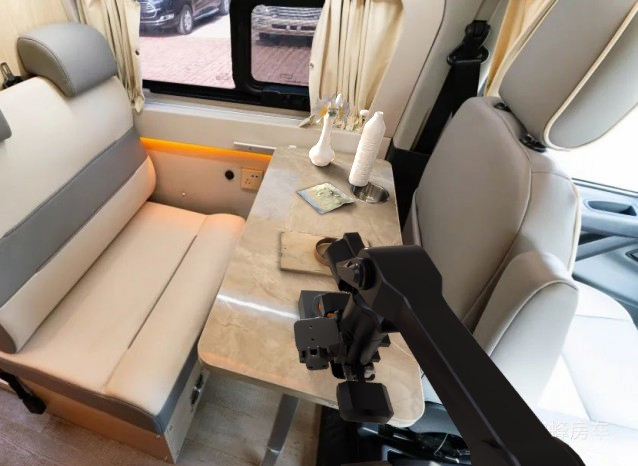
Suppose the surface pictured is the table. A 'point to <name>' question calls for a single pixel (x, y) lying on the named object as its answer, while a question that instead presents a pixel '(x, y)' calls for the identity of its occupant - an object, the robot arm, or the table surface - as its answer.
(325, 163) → the flower vase
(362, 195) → the table surface
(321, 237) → the board
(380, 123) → the water bottle
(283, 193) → the table surface
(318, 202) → the topographic map
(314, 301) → the jug base
